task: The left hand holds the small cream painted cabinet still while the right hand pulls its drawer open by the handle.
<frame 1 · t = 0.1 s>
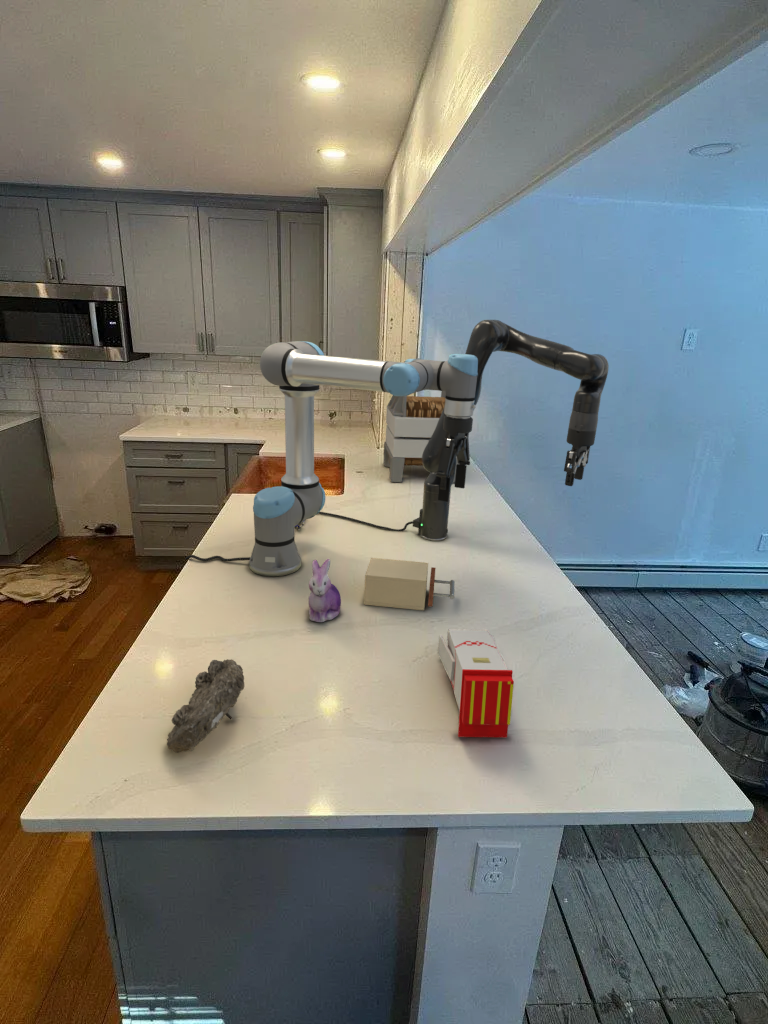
left hand: (451, 493, 154), 28 cm above the counter, tool pointing down, fingers open, 13 cm apart
right hand: (573, 482, 165), 29 cm above the counter, tool pointing down, fingers open, 8 cm apart
figurine: (324, 614, 146), on the counter
drawer: (417, 585, 154), point 4 cm above the counter, slide at 0.9 cm
white box: (419, 473, 275), on the counter
figurine character: (296, 525, 204), on the counter
cabinet: (395, 597, 156), on the counter
toy: (469, 691, 119), on the counter
fossil: (212, 717, 108), on the counter
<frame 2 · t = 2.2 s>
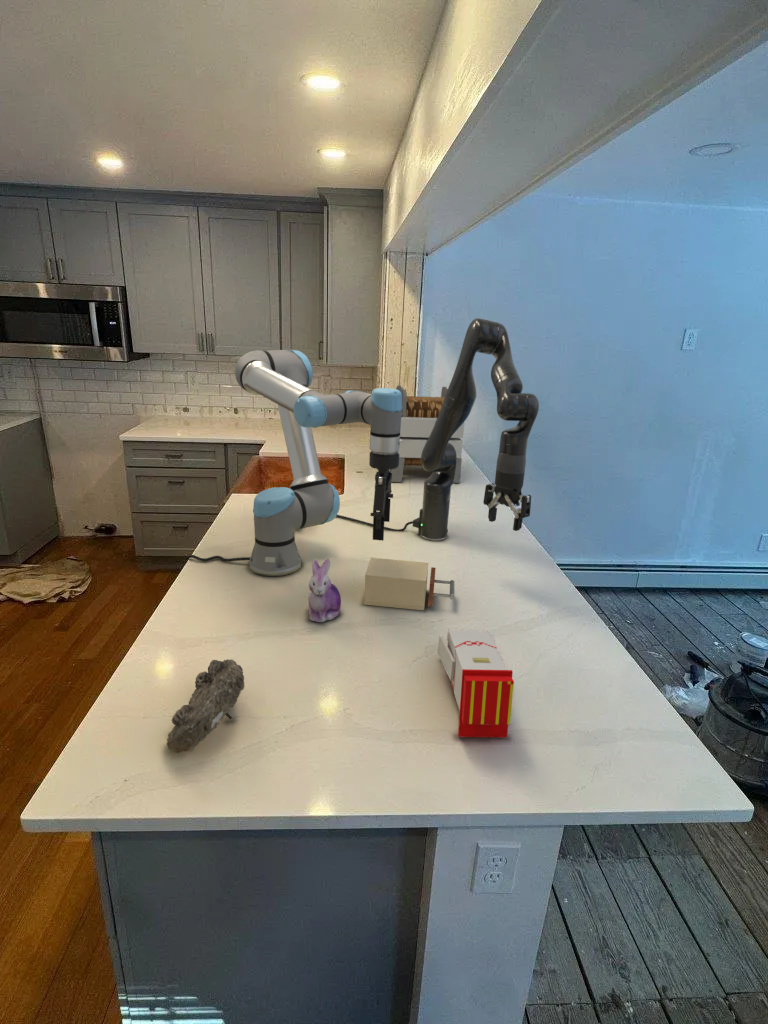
left hand: (381, 530, 150), 20 cm above the counter, tool pointing down, fingers open, 13 cm apart
right hand: (503, 525, 157), 20 cm above the counter, tool pointing down, fingers open, 8 cm apart
nothing on the counter moved.
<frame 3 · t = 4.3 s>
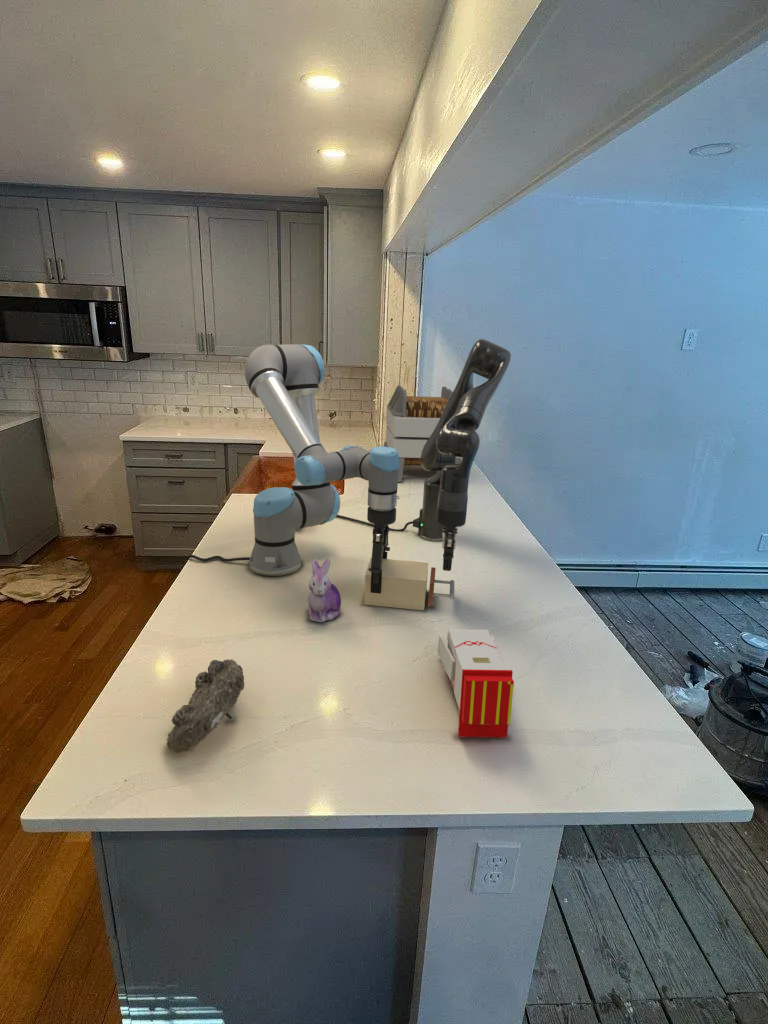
left hand: (378, 582, 155), 4 cm above the counter, tool pointing down, fingers closed on cabinet, 11 cm apart
right hand: (447, 565, 151), 11 cm above the counter, tool pointing down, fingers open, 4 cm apart
cabinet: (395, 597, 156), on the counter, touching left hand
everything else where it was.
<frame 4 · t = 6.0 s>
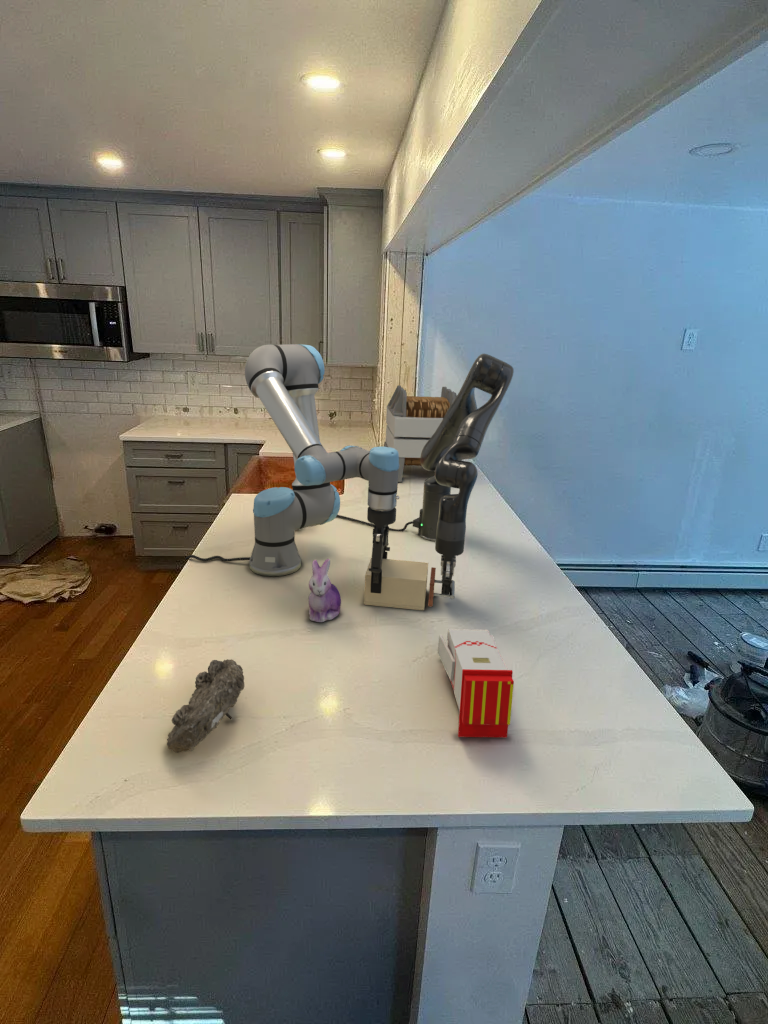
left hand: (378, 582, 155), 4 cm above the counter, tool pointing down, fingers closed on cabinet, 11 cm apart
right hand: (445, 593, 154), 3 cm above the counter, tool pointing down, fingers closed
drawer: (417, 585, 154), point 4 cm above the counter, slide at 0.9 cm, touching right hand
cabinet: (395, 597, 156), on the counter, touching left hand
everything else where it was.
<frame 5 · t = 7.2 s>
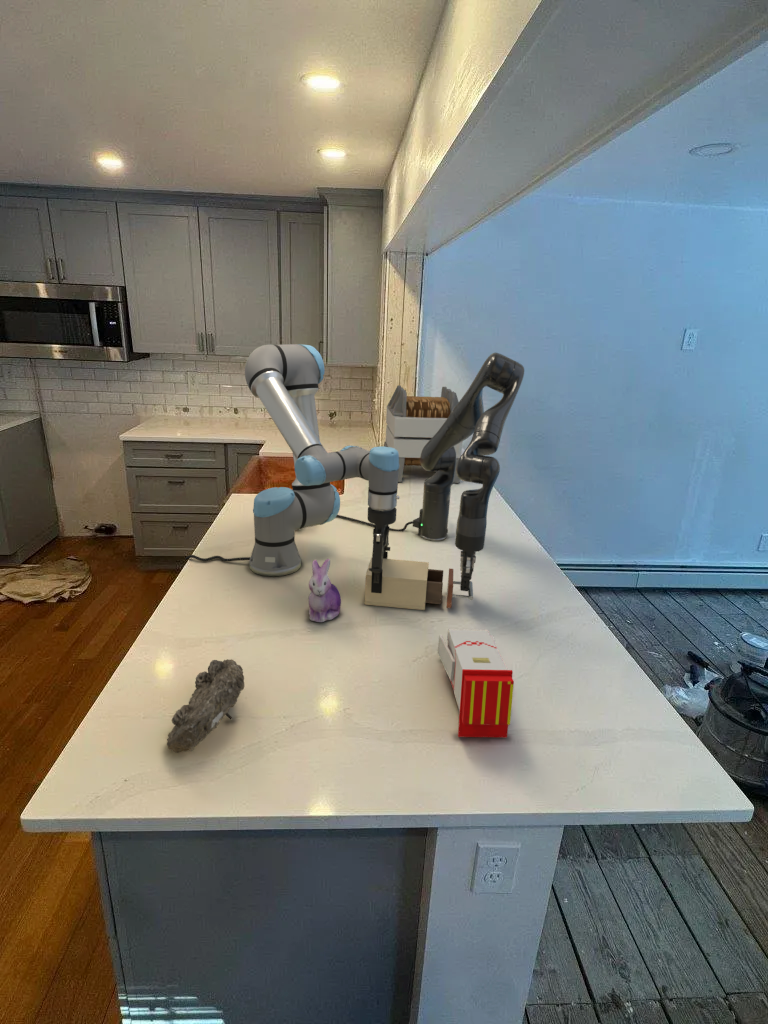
left hand: (379, 582, 155), 4 cm above the counter, tool pointing down, fingers closed on cabinet, 11 cm apart
right hand: (464, 589, 153), 4 cm above the counter, tool pointing down, fingers closed
drawer: (435, 586, 153), point 4 cm above the counter, slide at 5.7 cm
cabinet: (396, 597, 156), on the counter, touching left hand
everything else where it was.
when the left hand's fingers open (4 cm above the counter, at t = 8.6 s): cabinet stays where it is, on the counter.
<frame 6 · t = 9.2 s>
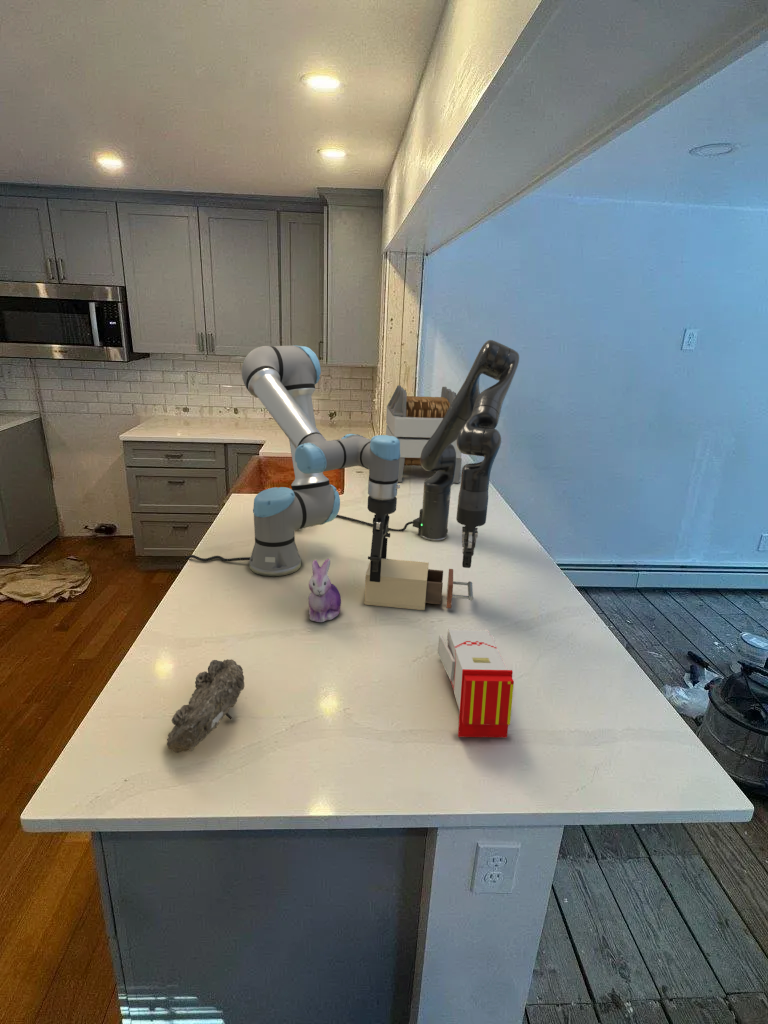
left hand: (378, 569, 154), 8 cm above the counter, tool pointing down, fingers open, 13 cm apart
right hand: (466, 566, 150), 11 cm above the counter, tool pointing down, fingers closed
cabinet: (396, 597, 156), on the counter
everything else where it was.
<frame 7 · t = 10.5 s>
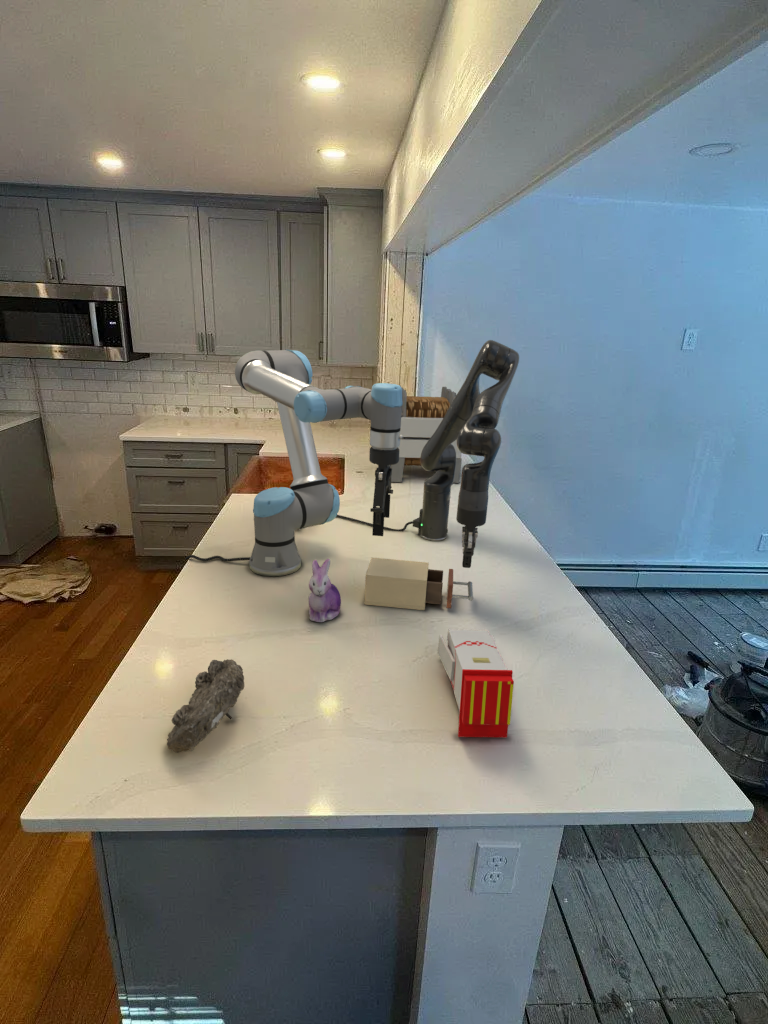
left hand: (381, 525, 149), 21 cm above the counter, tool pointing down, fingers open, 13 cm apart
right hand: (466, 566, 150), 11 cm above the counter, tool pointing down, fingers closed
nothing on the counter moved.
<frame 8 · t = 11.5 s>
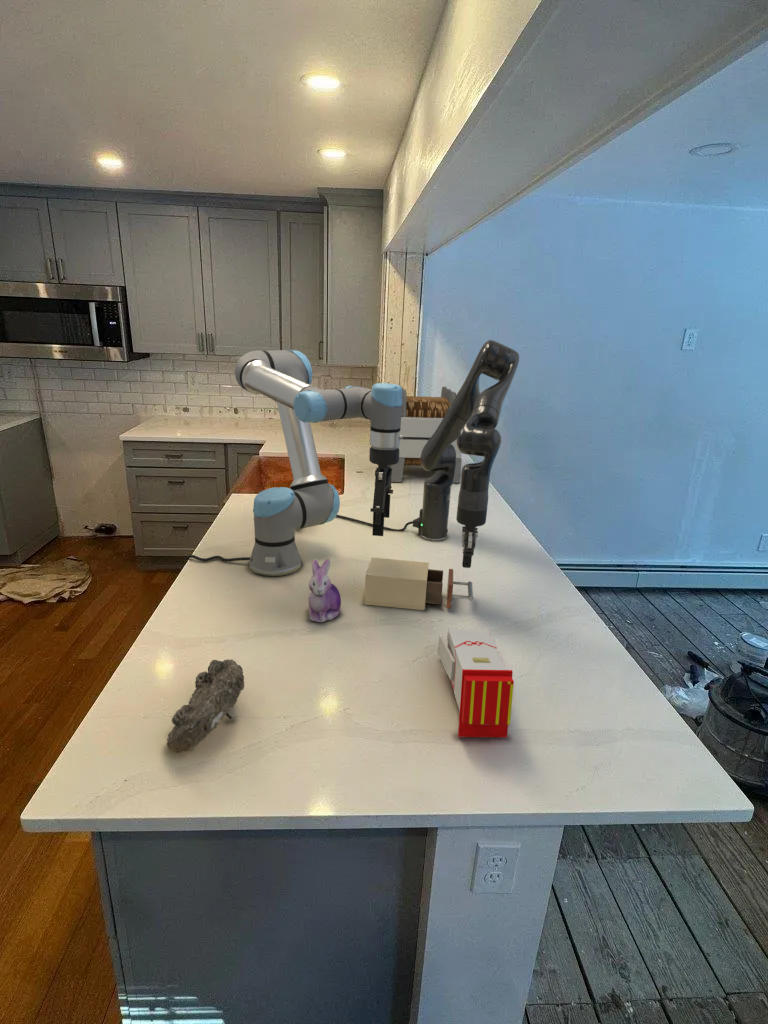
left hand: (381, 525, 149), 21 cm above the counter, tool pointing down, fingers open, 13 cm apart
right hand: (466, 566, 150), 11 cm above the counter, tool pointing down, fingers closed
nothing on the counter moved.
at the end: drawer slide at 5.7 cm; cabinet tilted 0°; cabinet never tilted more than 1° during the clip; cabinet moved 0.1 cm from its start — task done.
